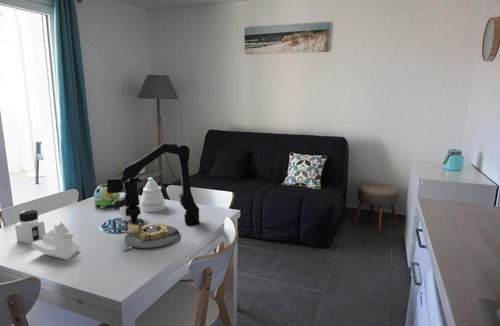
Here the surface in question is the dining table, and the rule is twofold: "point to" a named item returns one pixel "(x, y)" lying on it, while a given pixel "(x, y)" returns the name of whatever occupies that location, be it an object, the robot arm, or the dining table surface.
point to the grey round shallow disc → (136, 243)
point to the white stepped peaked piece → (57, 243)
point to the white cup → (124, 213)
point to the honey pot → (152, 197)
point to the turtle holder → (104, 196)
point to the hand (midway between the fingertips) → (134, 223)
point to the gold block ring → (146, 235)
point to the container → (29, 227)
